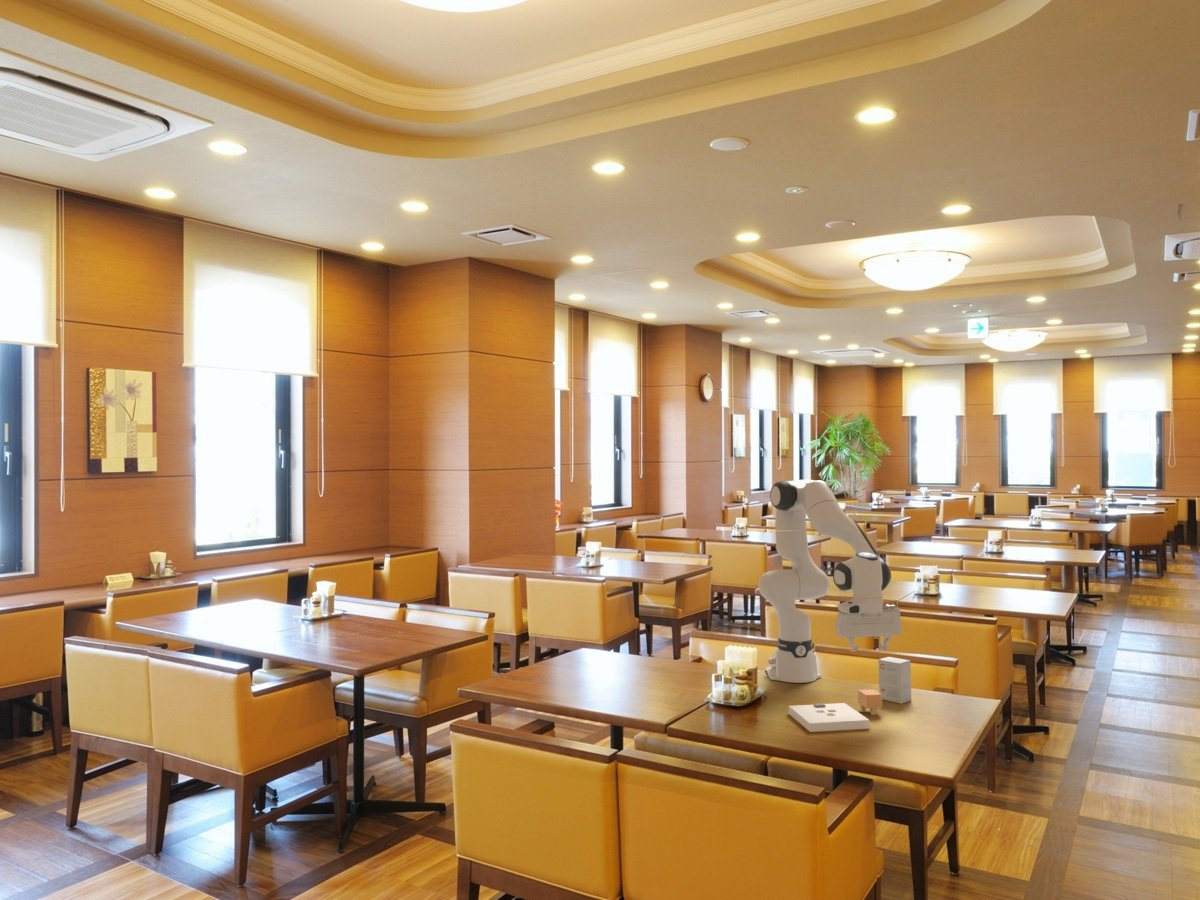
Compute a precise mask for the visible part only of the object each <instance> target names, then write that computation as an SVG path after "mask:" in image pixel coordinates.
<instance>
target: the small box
mask: <svg viewBox="0 0 1200 900" xmlns="http://www.w3.org/2000/svg"><path fill="white" fill-rule="evenodd" d="M911 665H912V664H911V660H910V659H904V658H899V657H893V656H887V657H883V658H882V657H881V658H879V659H878V689H879V690H878V692H879V693H881V694H882V701H887V702H893V703H897V704H901V705H902V704H905V703H907V702H910V701H912V674H911V668H912V667H911Z"/></svg>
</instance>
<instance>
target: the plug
mask: <svg viewBox="0 0 1200 900" xmlns="http://www.w3.org/2000/svg"><path fill="white" fill-rule="evenodd" d="M857 694H858V695H857V697H858V698H857V699H858V704H859V713H860V712H861V713H866V709H869V714H870V715H871V716H876V715H877V712H878V711H877V708H883V700H882V694H881V693H879V691H877V690H876V689H873V688H872V689H871V688H870V689H858V690H857Z"/></svg>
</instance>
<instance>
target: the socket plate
mask: <svg viewBox="0 0 1200 900" xmlns="http://www.w3.org/2000/svg"><path fill="white" fill-rule="evenodd" d="M788 715H789V716H790V717H792V718H793V719H794V720H795V721H796V722H798V723H799V724H800V725H801V726H802V727H804V728H805V729H806V730H807V731H808V732H810V733H816V732H836V731H837V732H838V731H852V730H853V731H854V730H868V729H869V730H870V727H871V725H870V724H871V723H870V722H871V721H870V719H869V718H867V717H866V716H865V715H863V714H862V713H860V711H859V712H858V711H857V710H856V709H854V708H852V707H851V706H850V705H848V704H847V703H846V702H841V703H840V702H838V703H837V702H835V703H823V702H820V703H813V704H801V705H788Z"/></svg>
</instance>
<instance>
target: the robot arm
mask: <svg viewBox="0 0 1200 900" xmlns="http://www.w3.org/2000/svg"><path fill="white" fill-rule="evenodd" d="M769 497H770V502H771V504H772V506H773V507H774V508H775V510H776V511H775V512H776V513H775V520H774V521H775V522H774V523H775V524H774V526H775V527H774V528H775V544H776V545H775V548H776V552H777V554H778V555H779V556H780V557H781V558H783V559H785V560H788V561H789V562H790V563H791V567H792V568H791V569H775V570H770V571H767V572H763V574H762V575H761V576H760V578H759V579H758V590H759V593H760V594H761V596H762V597H763V598H764V599H765V600H766V601H767V602H768V603H770V604H771V606H772V607H773V608H774V610H775V612H776V616H777V620H778V622H777V623H778V634H779V635H778V638H777V641H776V642H777V646H776V648H777V649H776V650H775V651H774V652H773V654H772V655H771V657H769V658H768V665H770V666H766V667H765V672H766V671H767V672H766V674H767V673H768V674H767V676H768V678H769V680H772V681H780V682H785V683H792V684H794V683H795V684H803V683H804V684H805V683H811V682H815V681H816V680H817V679H820V678H822V674H821V673H819V672H818V665H817V664H818V663H817V662H818V661H817V655H816V653H814V652H813V639H812V638H811V635H812V634H811V630H812V629H811V618H810V617H809V615H808V614H807V613H806V612H804V611H803V610H801V609H799V608H797V607H796V601H801V600H802V601H804V600H805V601H808V600H815V599H819V598H822V597H825V596H827V593H828V592H829V589H830V579H829V577H828V575H827V573H826V572H825V571H824V570H822V569H821V568H819V566H817V564H816V563H815V562H814V560H813V558H812V556H811V554H810V551H809V550H810V549H809V544H808V533H807V529H808V528H807V520H806V518H807V517H808V520H809V523H810V525H811V527H812V528H813V529H814V530H815V531H816V532H817V533H819V534H820V535H823V536H826V537H830V538H834V539H836V540H840V541H843V542H846V543H847V544H848V545H850V546H851V547H852V548H853V550H854V552H855V554H853V556H852V557H851V558H849V559H848V560H844V561H840V562H838V563H837V564H836V565H835V567H834V569H833V573H832V579H833V580H832V581H833V582H834V583H833V584H834V585H835V586H836V587H837V589H839V590H840V591H842V592H843V591H844V592H853V593H852V594H853V595H852V598H851V599H848V600H846V601H844V602H841V603H839V604H838V605H837V609H838V611H839V612H838V613H837V615H836V618H835V634H836V635H837V636H838V637H839V638H847V639H846V640H847V641H848V642H849V645H850V650H851V652H853V653H854V652H856V653H857V652H859V646H858V645H857V644H855V643H854V641H855V638H861V637H862V638H863V637H864V638H865V637H883V642H882V643H880V644H879V646H880V648H879V649H880V650H881V651H887V650H888V645H889V642H890V640H891V636H900V635H901V633H902V631H903V629H902V621H901V608H900V607H899V606H897V605H896V604H884V595H883V592H882V591H884V590H885V589H886V588H887V587H888V586H889V584H890V582H891V579H892V572H891V569H890V567H889V566H888V564H887V563H886V562H885V561H884V559H883V558H882V557H881V556H880V555H879V553H878V552H877V551H876V549H875V548H874V546H873V545H872V543H871V541H870V540H869V538H868V537H867V535H866V533H865V532H864V531H863V529H862V528H861V526H860V525H859V524H858V522H856V521H854V520H853V519H852V518H851V517H849V516H848V515H847V514H846V513H845V512H844V510H843V509H842V507H841V506H840V504H839V502H838V500H837V498H836V496H835V494H834V493H833V491H832V489H831V487H830V485H829V483H828V482H826V481H825V480H820V479H815V480H813V479H793V480H781V481H777V482H775V483H774V484H773V485H772V487H771V488H770V495H769ZM806 516H807V517H806Z"/></svg>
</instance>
